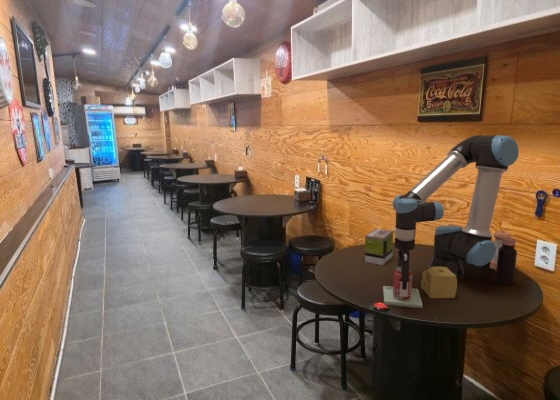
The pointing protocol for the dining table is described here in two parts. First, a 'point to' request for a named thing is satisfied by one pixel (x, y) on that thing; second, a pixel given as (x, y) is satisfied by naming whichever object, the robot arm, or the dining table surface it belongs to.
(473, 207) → the robot arm
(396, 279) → the soda can
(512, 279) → the bottle
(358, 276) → the dining table surface
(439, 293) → the cheese
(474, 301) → the dining table surface
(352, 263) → the dining table surface
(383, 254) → the tea box
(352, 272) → the dining table surface
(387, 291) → the tray
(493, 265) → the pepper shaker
